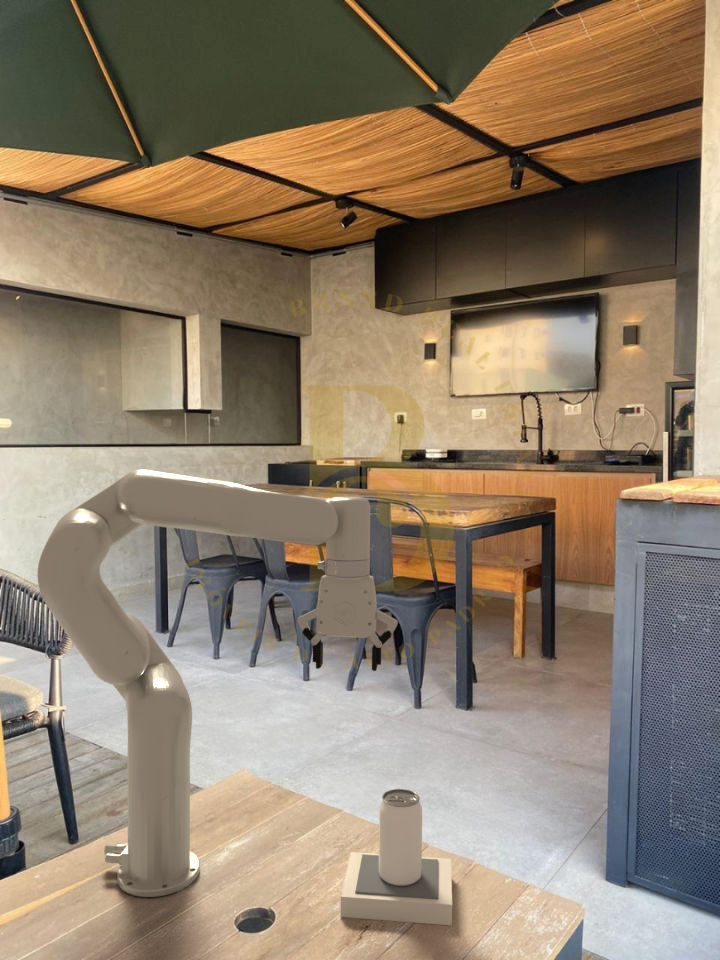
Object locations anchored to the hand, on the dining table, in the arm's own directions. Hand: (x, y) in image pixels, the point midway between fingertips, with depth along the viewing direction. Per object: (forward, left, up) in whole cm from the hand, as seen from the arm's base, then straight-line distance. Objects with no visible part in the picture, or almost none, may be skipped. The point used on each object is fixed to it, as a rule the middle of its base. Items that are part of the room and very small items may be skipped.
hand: (346, 667), depth 126 cm
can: (+10, -15, -27) cm, 33 cm away
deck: (+10, -15, -30) cm, 35 cm away
